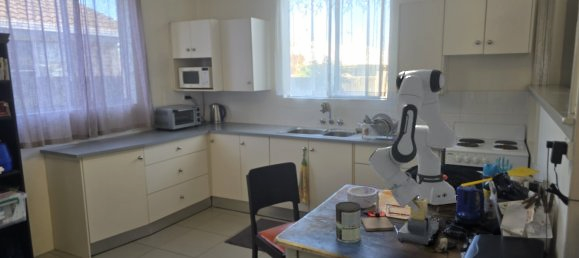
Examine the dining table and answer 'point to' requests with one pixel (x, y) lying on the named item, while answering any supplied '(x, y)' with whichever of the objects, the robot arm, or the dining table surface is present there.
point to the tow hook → (377, 212)
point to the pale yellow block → (422, 212)
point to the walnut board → (377, 224)
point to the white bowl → (362, 196)
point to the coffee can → (348, 222)
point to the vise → (418, 229)
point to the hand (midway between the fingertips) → (420, 207)
